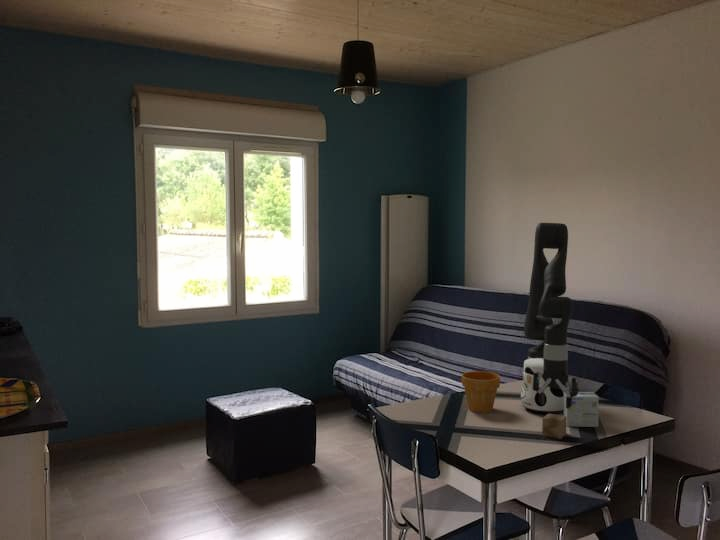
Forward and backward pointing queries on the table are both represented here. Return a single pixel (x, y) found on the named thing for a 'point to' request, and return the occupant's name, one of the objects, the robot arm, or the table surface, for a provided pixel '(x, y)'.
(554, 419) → the walnut block
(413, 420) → the table surface
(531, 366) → the milk container
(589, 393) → the light bulb box
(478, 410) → the flower pot
